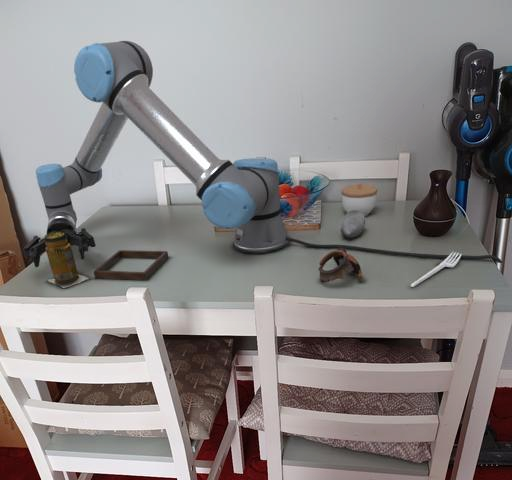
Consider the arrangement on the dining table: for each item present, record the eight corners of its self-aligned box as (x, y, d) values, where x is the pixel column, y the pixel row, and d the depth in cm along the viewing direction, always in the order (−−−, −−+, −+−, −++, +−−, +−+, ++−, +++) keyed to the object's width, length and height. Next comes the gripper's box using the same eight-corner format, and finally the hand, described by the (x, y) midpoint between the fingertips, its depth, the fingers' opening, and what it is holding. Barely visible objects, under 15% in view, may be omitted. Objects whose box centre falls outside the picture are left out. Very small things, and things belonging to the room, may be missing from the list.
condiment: (72, 271, 141) (60, 228, 134) (89, 279, 135) (77, 234, 129) (47, 281, 136) (33, 237, 130) (64, 289, 131) (50, 244, 125)
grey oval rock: (334, 234, 141) (343, 204, 140) (341, 235, 154) (348, 208, 152) (357, 239, 140) (366, 209, 138) (362, 241, 153) (370, 213, 151)
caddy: (168, 257, 144) (167, 251, 143) (146, 280, 132) (145, 273, 131) (120, 256, 147) (119, 250, 146) (95, 278, 135) (93, 271, 134)
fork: (405, 286, 118) (405, 278, 117) (450, 257, 129) (451, 250, 128) (418, 290, 116) (419, 282, 115) (462, 261, 127) (463, 253, 126)
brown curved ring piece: (367, 289, 119) (352, 264, 114) (330, 304, 123) (313, 281, 118) (363, 256, 127) (348, 232, 122) (328, 272, 131) (312, 249, 126)
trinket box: (335, 212, 166) (335, 182, 161) (366, 206, 168) (367, 177, 164) (350, 221, 157) (351, 190, 152) (382, 216, 160) (384, 185, 155)
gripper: (105, 236, 151) (109, 263, 132) (23, 249, 146) (14, 280, 128) (99, 210, 147) (102, 235, 129) (14, 224, 143) (4, 251, 124)
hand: (58, 258), depth 128 cm, fingers open, 10 cm apart
